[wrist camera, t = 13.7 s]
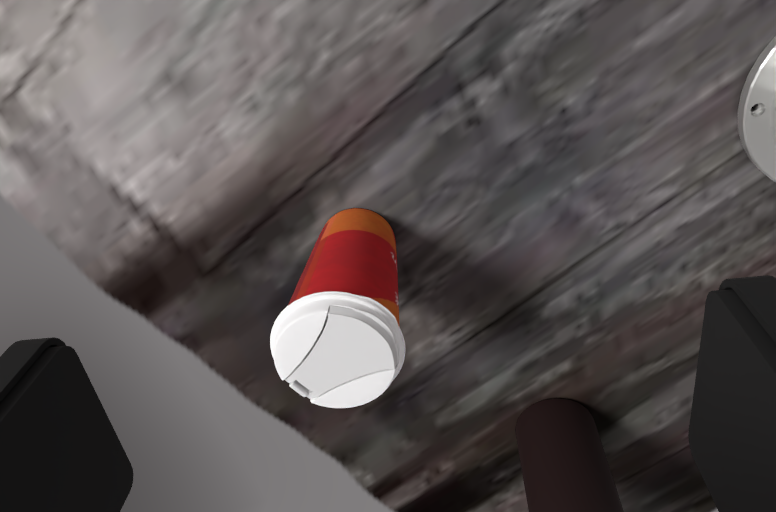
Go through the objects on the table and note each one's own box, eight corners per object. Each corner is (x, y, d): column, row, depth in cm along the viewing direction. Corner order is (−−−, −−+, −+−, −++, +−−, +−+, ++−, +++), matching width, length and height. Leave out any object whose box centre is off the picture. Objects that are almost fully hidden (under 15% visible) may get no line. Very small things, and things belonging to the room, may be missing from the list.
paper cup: (359, 302, 49) (337, 435, 37) (285, 238, 46) (236, 359, 34) (433, 242, 46) (435, 366, 34) (358, 171, 43) (333, 277, 31)
